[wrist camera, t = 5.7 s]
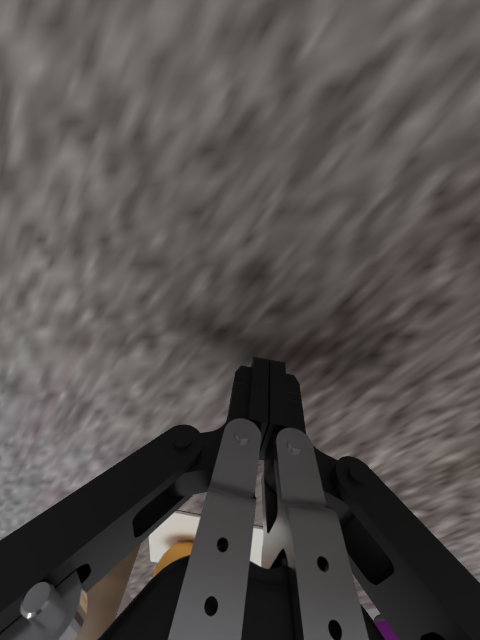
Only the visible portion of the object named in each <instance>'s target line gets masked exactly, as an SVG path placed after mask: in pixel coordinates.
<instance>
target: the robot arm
mask: <svg viewBox="0 0 480 640" xmlns="http://www.w3.org/2000/svg"><path fill="white" fill-rule="evenodd" d="M300 394H301V392H300V384H299V382H298V381H297V379H296V378H295V376H294V375H290V374H286V369H285V363H284V362H280V361H274V360H268V359H263V358H258V357H253V361H252V365H251V367H247V366H242V365H241V366H240V367H239V369H238V370H237V371H236V373H235V378H234V383H233V388H232V393H231V399H230V405H229V410H228V416H227V421H226V423H225V424H224V425H223V426H222V427H221V428H219V429H217V430H215V431H211V432H205V433H200V432H199V431H198V430H197V429H196V428H194V427H192V426H190V425H177V426H174V427H172V428H171V429H169V430H168V431H166V432H164V433H163V434H161V435H160V436H158V437H157V438H155V439H154V440H152V441H151V442H149V443H148V444H146V445H145V446H143V447H142V448H140V449H139V450H137V451H136V452H134V453H133V454H131V455H130V456H128V457H127V458H125V459H123V460H122V461H120V462H119V463H117V464H116V465H114V466H113V467H111V468H110V469H108V470H107V471H105V472H104V473H102V474H101V475H99V476H98V477H96V478H95V479H93V480H92V481H90V482H89V483H87V484H85V485H84V486H82V487H81V488H79V489H78V490H76V491H75V492H73V493H72V494H70V495H69V496H67V497H66V498H64V499H63V500H61V501H60V502H58V503H57V504H55V505H54V506H52V507H51V508H49V509H48V510H46V511H44V512H43V513H41V514H40V515H38V516H37V517H35V518H34V519H32V520H31V521H29V522H28V523H26V524H25V525H23V526H22V527H20V528H19V529H17V530H16V531H14V532H13V533H11V534H10V535H8V536H6V537H5V538H3V539H2V540H0V640H74V639H75V638H76V636H77V635H78V633H79V631H80V629H81V627H82V625H83V622H84V620H85V616H86V612H87V605H88V600H87V594H86V593H87V592H88V591H89V590H90V589H91V588H92V587H93V586H95V585H96V584H97V583H98V582H99V581H100V580H101V579H102V578H103V577H104V576H105V575H107V574H108V573H109V572H110V571H111V570H112V569H113V568H114V567H115V566H116V565H117V564H119V563H120V562H121V561H122V560H123V559H124V558H125V557H126V556H127V555H128V554H129V553H131V552H132V551H133V550H134V549H135V548H136V547H137V546H138V545H139V544H140V543H141V542H143V541H144V540H145V539H146V538H147V537H148V536H149V535H150V534H151V533H152V532H153V531H155V530H156V529H157V528H158V527H159V526H160V525H161V524H162V523H163V522H164V521H165V520H167V519H168V518H169V517H170V516H171V515H172V514H173V513H174V512H175V511H176V510H177V509H179V508H180V507H181V506H182V505H183V504H184V503H185V502H186V501H187V500H188V499H189V498H190V497H191V496H192V495H193V494H198V493H203V492H207V494H206V498H205V502H204V505H203V509H202V513H201V517H200V520H199V524H198V528H197V532H196V536H195V539H194V543H193V547H192V551H191V554H190V555H188V556H185V557H182V558H179V559H177V560H175V561H173V562H172V563H170V564H169V565H167V566H166V567H164V568H163V569H162V570H161V571H160V572H159V573H157V574H156V575H155V576H154V577H153V578H152V579H151V581H150V582H149V583H148V584H147V585H146V586H145V587H144V588H143V589H142V591H141V592H140V593H139V594H138V595H137V596H136V597H135V598H134V599H133V601H132V602H131V603H130V604H129V605H128V606H127V607H126V608H125V610H124V611H123V612H122V613H121V614H120V615H119V616H118V617H117V618H116V619H115V621H114V622H113V623H112V624H111V625H110V626H109V627H108V628H107V629H106V631H105V632H104V633H103V634H102V635H101V636H100V637H99V638H98V639H97V640H385V639H384V637H383V635H382V634H381V632H380V631H379V629H378V628H377V626H376V624H375V623H374V621H373V620H372V619H371V617H370V616H369V615H368V613H367V612H366V610H365V609H364V608H363V607H362V605H361V604H360V602H359V598H358V594H357V590H356V586H355V582H354V578H353V575H354V576H355V578H356V579H357V580H358V582H359V583H360V585H361V586H362V588H363V589H364V591H365V592H366V593H367V595H368V596H369V598H370V599H371V601H372V602H373V603H374V605H375V606H376V608H377V609H378V611H379V612H380V613H381V615H382V616H383V618H384V619H385V621H386V622H387V623H388V625H389V626H390V628H391V629H392V631H393V632H394V634H395V635H396V636H397V638H398V639H399V640H480V583H479V582H478V581H477V580H476V579H475V578H474V577H473V576H472V575H471V574H470V573H469V571H468V570H467V569H466V568H465V567H464V566H463V565H462V564H461V563H460V562H459V561H458V560H457V559H456V558H455V557H454V556H453V555H452V554H451V553H450V552H449V551H448V550H447V548H446V547H445V546H444V545H443V544H442V543H441V542H440V541H439V540H438V539H437V538H436V537H435V536H434V535H433V534H432V533H431V532H430V531H429V530H428V529H427V528H426V527H425V526H424V524H423V523H422V522H421V521H420V520H419V519H418V518H417V517H416V516H415V515H414V514H413V513H412V512H411V511H410V510H409V509H408V508H407V507H406V506H405V505H404V504H403V503H402V502H401V500H400V499H399V498H398V497H397V496H396V495H395V494H394V493H393V492H392V491H391V490H390V489H389V488H388V487H387V486H386V485H385V484H384V483H383V482H382V481H381V480H380V479H379V477H378V476H377V475H376V474H375V473H374V472H373V471H372V470H371V469H370V468H369V467H368V466H367V465H366V464H365V463H363V462H362V461H360V460H359V459H357V458H354V457H350V456H345V457H342V458H340V459H339V460H336V459H334V458H332V457H330V456H328V455H326V454H324V453H322V452H320V451H319V450H318V449H316V448H315V447H314V446H313V444H312V442H311V440H310V439H309V437H308V436H307V435H306V431H305V423H304V415H303V407H302V403H301V401H302V400H301V395H300ZM259 460H264V472H263V475H262V479H261V484H262V508H263V546H262V555H261V566H259V565H257V564H255V563H253V562H252V561H250V554H251V545H252V536H253V527H254V518H255V509H256V497H255V487H256V478H257V470H258V462H259ZM352 573H353V574H352Z"/></svg>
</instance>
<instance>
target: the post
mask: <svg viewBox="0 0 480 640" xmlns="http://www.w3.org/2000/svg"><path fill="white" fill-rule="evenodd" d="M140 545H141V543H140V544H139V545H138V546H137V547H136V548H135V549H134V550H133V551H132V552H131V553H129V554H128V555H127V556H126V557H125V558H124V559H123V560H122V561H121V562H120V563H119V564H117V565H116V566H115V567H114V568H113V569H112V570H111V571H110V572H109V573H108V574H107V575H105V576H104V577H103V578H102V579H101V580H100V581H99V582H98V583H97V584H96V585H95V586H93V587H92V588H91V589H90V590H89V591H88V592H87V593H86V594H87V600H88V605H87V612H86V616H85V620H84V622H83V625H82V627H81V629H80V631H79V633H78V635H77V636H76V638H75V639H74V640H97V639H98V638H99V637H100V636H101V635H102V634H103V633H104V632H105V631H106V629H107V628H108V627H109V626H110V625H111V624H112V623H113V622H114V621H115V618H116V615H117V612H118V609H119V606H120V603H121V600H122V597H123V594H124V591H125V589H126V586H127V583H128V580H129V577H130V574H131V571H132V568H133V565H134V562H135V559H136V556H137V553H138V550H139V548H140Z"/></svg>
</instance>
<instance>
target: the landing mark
mask: <svg viewBox="0 0 480 640" xmlns="http://www.w3.org/2000/svg"><path fill="white" fill-rule="evenodd" d="M200 517H201V515H197V514H192V513H187V512H182V511H175V512H174V513H173V514H172V515H171V516H170V517H169V518H168V519H167V520H165V521H164V522H163V523H162V524H161V525H160V526H159V527H158V528H157V529H156V530H155V531H153V532H152V533H151V534H150V535H149V545H150V559H151V561H152V562H157V563H158V562H159V560H160V559H161V557H162V556H163V555H164V553H165V552H166V551H167V550H168V549H169V548H171V547H172V546H173V545H175V544H177V543H180V542H183V541H191V542H194V539H195V536H196V532H197V528H198V524H199V520H200ZM262 546H263V527H260V526H255V525H254V527H253V536H252V545H251V554H250V561H252V562H253V563H255V564H257V565H259V566H261V555H262Z"/></svg>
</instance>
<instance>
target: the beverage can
mask: <svg viewBox="0 0 480 640" xmlns="http://www.w3.org/2000/svg"><path fill="white" fill-rule="evenodd" d="M374 623H375V624H376V626H377V628H378V629H379V631H380V632H381V634H382V635H383V637H384V639H385V640H399V639H398V638H397V636H396V635H395V634H394V632H393V631H392V629H391V628H390V626H389V625H388V623H387V622H386V621H385V619H384V618H383V616H382V615H381V614H380V615H377V616H376V617H375V618H374Z"/></svg>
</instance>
